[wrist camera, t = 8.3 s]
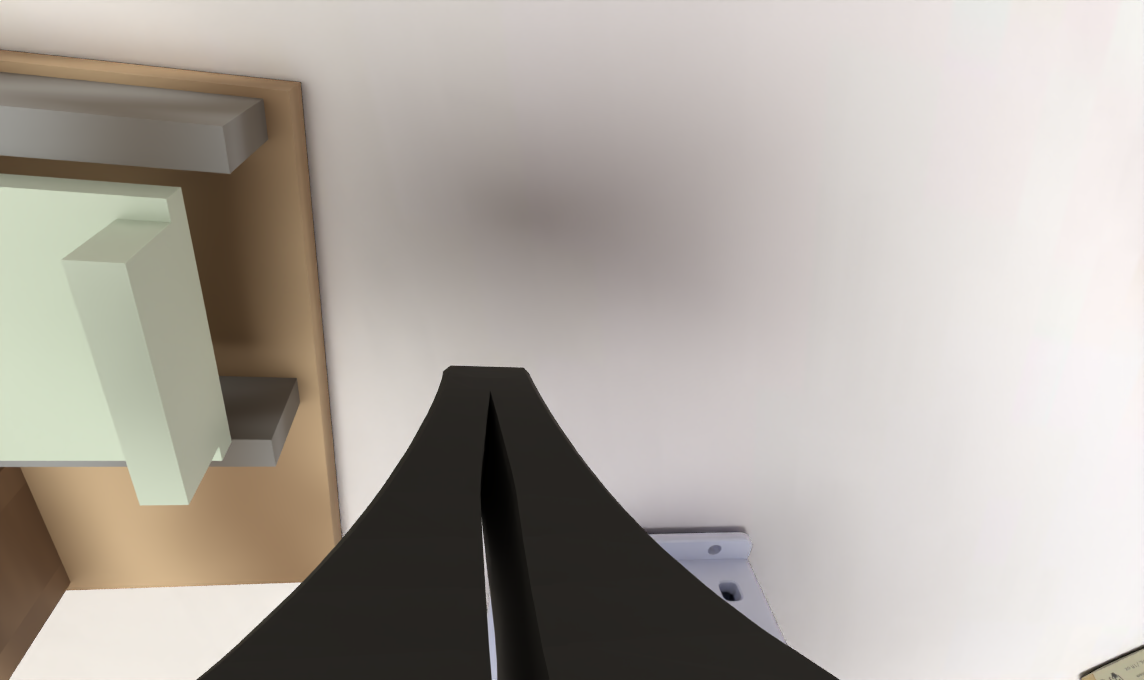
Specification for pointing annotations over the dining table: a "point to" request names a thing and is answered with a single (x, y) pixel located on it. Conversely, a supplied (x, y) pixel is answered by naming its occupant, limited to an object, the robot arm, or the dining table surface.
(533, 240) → the dining table surface
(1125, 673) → the skincare box
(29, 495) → the brown block
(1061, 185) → the dining table surface
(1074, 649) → the dining table surface
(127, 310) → the cover
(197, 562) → the board
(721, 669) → the robot arm
